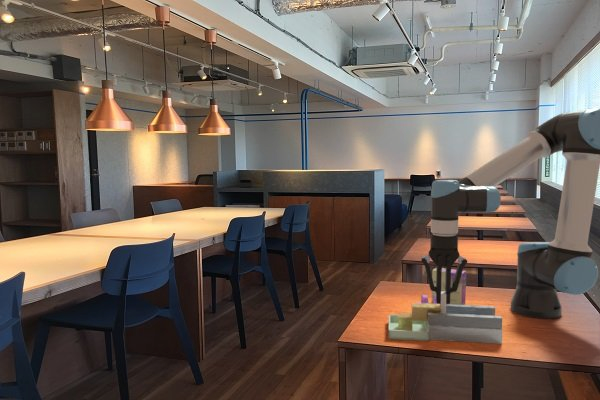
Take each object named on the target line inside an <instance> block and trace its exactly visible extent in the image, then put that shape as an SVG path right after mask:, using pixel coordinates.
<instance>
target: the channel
mask: <svg viewBox="0 0 600 400" xmlns="http://www.w3.org/2000/svg"><path fill="white" fill-rule="evenodd" d="M428 303H429V304H432V302H431V303H430V302H428ZM426 322H427V326H428V331H429V341H445V342H463V343H476V344H478V343H479V344H494V345H495V344H498V345H500V344H501V345H502V344H503V317H502V316H501V315H496V307H495V306H494V305H473V304H472V305H471V304H464V305H454V304H446V313H428V321H426Z"/></svg>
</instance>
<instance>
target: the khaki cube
mask: <svg viewBox="0 0 600 400" xmlns="http://www.w3.org/2000/svg"><path fill="white" fill-rule="evenodd" d="M397 315H398V330H405V331H412V312H410V313H409V312H398V313H397Z"/></svg>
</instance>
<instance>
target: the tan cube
mask: <svg viewBox="0 0 600 400" xmlns="http://www.w3.org/2000/svg"><path fill="white" fill-rule="evenodd" d="M411 313H412V321H426V318H427V307H426V304H425V303H419V302H412V303H411Z"/></svg>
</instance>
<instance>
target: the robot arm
mask: <svg viewBox="0 0 600 400" xmlns="http://www.w3.org/2000/svg"><path fill="white" fill-rule="evenodd" d="M558 152H562V153H561V154H562V156H563V157H564V158H565V160H566V165H565V170H564V171H565V172H564V178H563V182H562V183H563V185H562V191H561V197H560V202H559V208H558V209H559V210H558V215H557V222H556V229H555V235H554V239H553V240H551V241H533V242H532V241H531V242H529V241H528V242H521V243H519V245H518V246H517V247H518V248H517V253H516V255H517V268H516V269H517V272H516V273H517V274H516V287H515V291H514V293H513V295H512V298H511V300H510V311H512V312H513V313H514V314H517V315H521V316H523V317H528V318H535V319H556V318H560V317H561V316H562V311H563V310H562V304H561V301H560V298H559V295H558V292H560V293H563V294H565V293H566V294H569V295H573V296H576V295H578V296H579V295H582V294H585V293H587V292H588V291H589V290H591V289H592V288H593V287H594V286H595V285H596V283H597V281H598V279H599V267H598V266H597V263H596V262H595V261H594V260H593V259H592V256H593V249H592V248H591V247H590V245H589V244H588V242H589V236H590V230H591V225H592V224H591V223H592V217H593V212H594V211H593V210H594V204H595V198H596V192H597V186H598V179H599V173H600V108H587V109H581V110H576V111H566V112H562V113H559V114H557V115H555V116H553V117H551V118H549V119H547V120H546V121H545V122H543V123H542V124H540V125H539V126H537V127H535V128H534V129H532V130H531V131H529V132H528V133H527V135H526V138H524V139H522V140H520V141H519V142H518V143H516V144H515V145H513V146H511V147H510V148H508V149H507V150H505V151H504V152H502V153H501V154H499V155H497V156H496V157H494V158H493V159H491V160H489V161H488V162H486V163H485V164H483V165H482V166H480V167H478V168H477V169H475V170H473V172H471V173H469V174H468V175H466V176H465V177H463V178H461V179H459V180H457V179H437V180H434V181H432V183H431V189H430V214H431V215H430V232H431V233H432V234H430V247H429V248H430V249H429V251H428V252H427V254H426V255H425V256H421V257H420V260H421V263H422V264H423V265H424V268H425V271H426V272H425V273H426V277H427V281H428V285H429V290H431V292H432V291H435V292H436V302H437V304H440V307H441V313H446V304H450V294H451V292H456V291H457V289H458V285H459V282H460V278H461V274H462V271H464V267H465V266H466V265H467V264H468V260H467V258H466V257H463V256H461V255H460V252H459V249H458V248H459V236H458V235H457V234H458V233H459V216H460V215H459V214H465V213H468V214H469V213H473V214H474V213H479V214H480V213H485V214H487V213H494V212H497V211H498V210H499V209H500V206H501V203H502V202H501V201H502V200H501V197H502V196H501V193H500V190H499V189H498V188H497V186H498V185H499V184H501V183H503V182H504V181H506V180H507V179H509V178H510V177H512V176H514V175H516V174H517V173H518V172H521V171H522V170H523V169H525V168H526V167H528V166H530V165H531V164H532V163H534V162H536V161H537V160H539V159H540V158H543V159H545V158H549V156H551V155H553V154H555V153H558ZM430 259H431V260H432V262H433V264H434V265H435V266H436V267H435V268H436V286H434V283H433V279H432V271H431V267H430V263H431V261H430ZM456 262H457V267H456V269H455V270H456V273H455V277H454V281H453V284H452V287H451V269H452V266H453V265H454V264H455V263H456ZM443 267H445V269H446V273H445V291H441V276H442V268H443ZM557 291H558V292H557Z"/></svg>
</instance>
